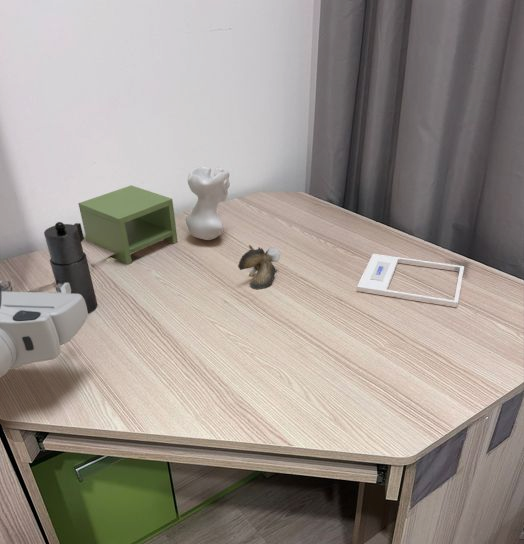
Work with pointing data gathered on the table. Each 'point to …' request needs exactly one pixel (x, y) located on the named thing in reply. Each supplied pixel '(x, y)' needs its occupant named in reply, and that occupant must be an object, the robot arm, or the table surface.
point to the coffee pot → (70, 260)
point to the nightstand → (128, 221)
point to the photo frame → (382, 273)
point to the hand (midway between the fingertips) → (36, 285)
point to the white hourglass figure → (207, 201)
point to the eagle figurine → (260, 265)
